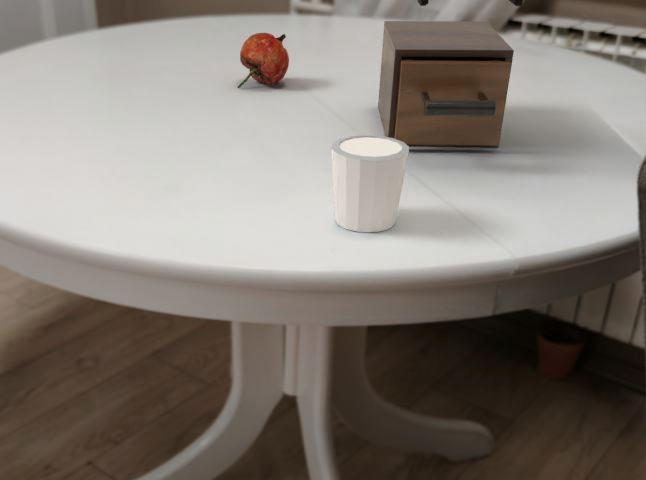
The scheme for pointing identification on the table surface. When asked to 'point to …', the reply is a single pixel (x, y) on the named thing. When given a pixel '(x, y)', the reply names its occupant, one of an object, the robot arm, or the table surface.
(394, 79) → the cabinet
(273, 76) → the pomegranate
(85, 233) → the table surface
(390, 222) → the white cup
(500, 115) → the drawer
